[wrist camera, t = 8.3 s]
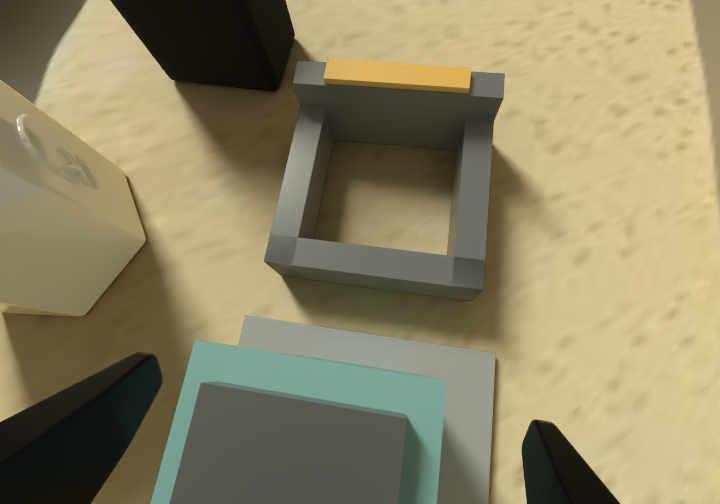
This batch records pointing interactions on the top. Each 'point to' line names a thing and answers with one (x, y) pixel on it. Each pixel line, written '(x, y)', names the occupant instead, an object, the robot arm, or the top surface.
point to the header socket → (393, 127)
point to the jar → (58, 215)
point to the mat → (453, 364)
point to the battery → (215, 39)
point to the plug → (300, 432)
